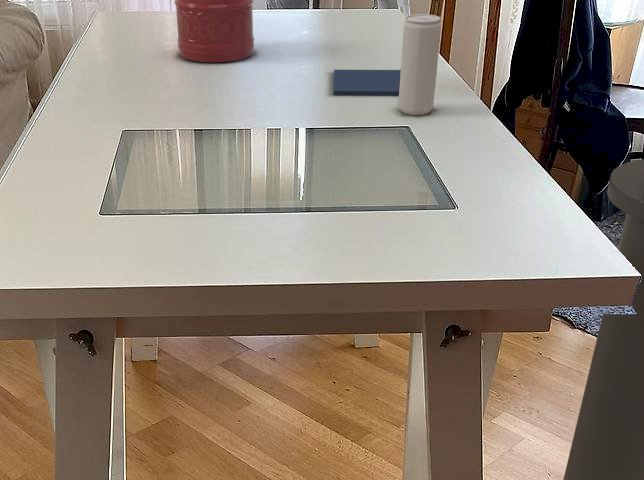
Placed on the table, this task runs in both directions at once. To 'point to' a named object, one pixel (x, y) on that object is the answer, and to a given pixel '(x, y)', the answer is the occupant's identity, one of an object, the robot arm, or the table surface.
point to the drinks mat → (366, 82)
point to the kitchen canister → (215, 29)
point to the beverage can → (419, 63)
